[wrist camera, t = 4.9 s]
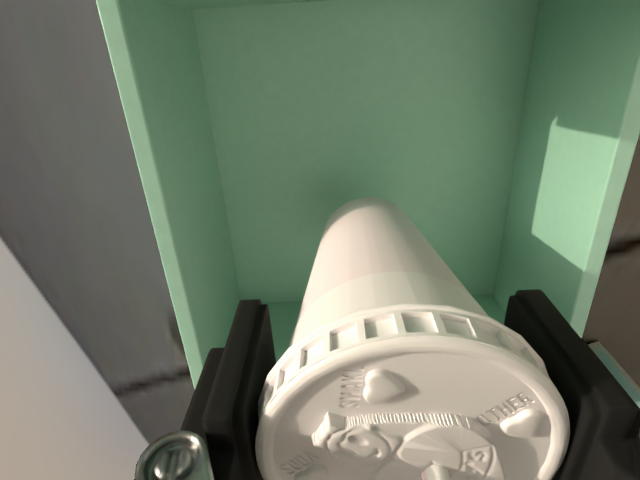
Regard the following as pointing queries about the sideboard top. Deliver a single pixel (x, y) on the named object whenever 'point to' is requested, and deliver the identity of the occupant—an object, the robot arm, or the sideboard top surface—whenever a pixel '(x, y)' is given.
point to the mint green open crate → (376, 141)
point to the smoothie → (402, 370)
